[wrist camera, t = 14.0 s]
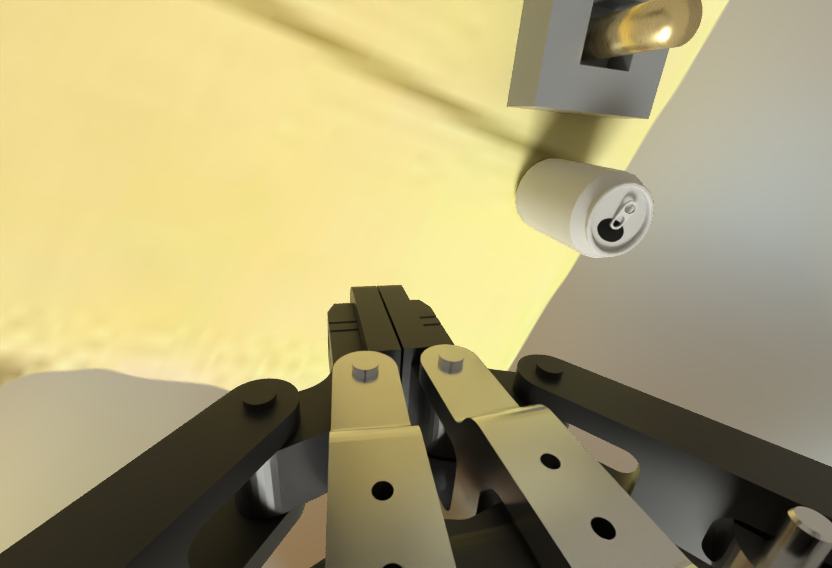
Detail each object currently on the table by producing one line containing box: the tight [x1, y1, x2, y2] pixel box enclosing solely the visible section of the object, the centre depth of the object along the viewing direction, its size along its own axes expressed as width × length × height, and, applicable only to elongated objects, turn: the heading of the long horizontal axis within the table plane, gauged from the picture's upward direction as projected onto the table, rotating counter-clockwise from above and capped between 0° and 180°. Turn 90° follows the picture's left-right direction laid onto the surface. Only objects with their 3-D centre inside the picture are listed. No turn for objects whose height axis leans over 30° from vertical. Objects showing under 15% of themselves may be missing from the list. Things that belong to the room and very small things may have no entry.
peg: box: [581, 0, 702, 61], centre depth 30 cm, size 3×3×10 cm
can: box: [516, 158, 654, 258], centre depth 37 cm, size 8×8×12 cm
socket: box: [507, 0, 669, 119], centre depth 34 cm, size 12×12×5 cm
